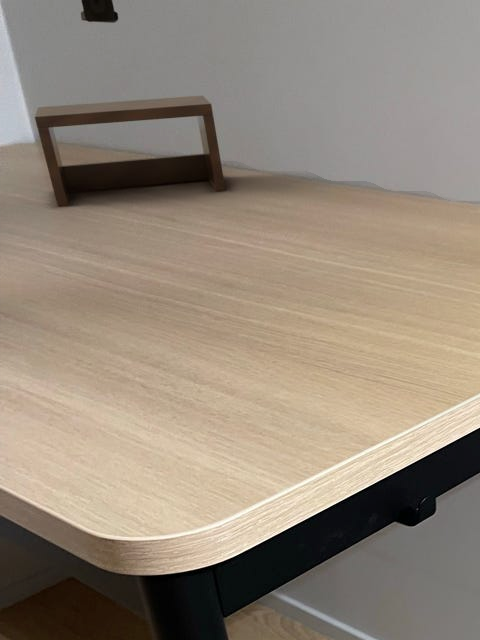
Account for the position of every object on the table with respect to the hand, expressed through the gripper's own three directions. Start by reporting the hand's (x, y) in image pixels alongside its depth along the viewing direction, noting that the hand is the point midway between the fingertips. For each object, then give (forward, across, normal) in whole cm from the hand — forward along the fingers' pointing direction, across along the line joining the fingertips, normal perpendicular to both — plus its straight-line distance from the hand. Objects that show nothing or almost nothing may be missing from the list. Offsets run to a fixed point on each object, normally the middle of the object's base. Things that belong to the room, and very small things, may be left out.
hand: (100, 18), depth 112 cm
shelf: (+19, -3, 0) cm, 19 cm away
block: (+1, 0, 0) cm, 1 cm away
